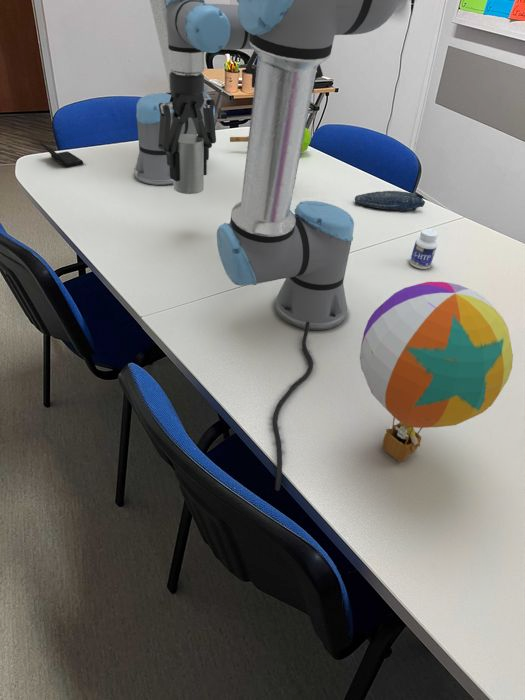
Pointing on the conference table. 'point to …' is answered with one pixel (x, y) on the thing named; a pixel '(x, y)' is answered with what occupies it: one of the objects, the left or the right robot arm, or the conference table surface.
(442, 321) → the toy
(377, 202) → the fish model
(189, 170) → the can
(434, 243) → the pill bottle
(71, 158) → the black handled piece
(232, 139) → the decorative tree
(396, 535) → the conference table surface
